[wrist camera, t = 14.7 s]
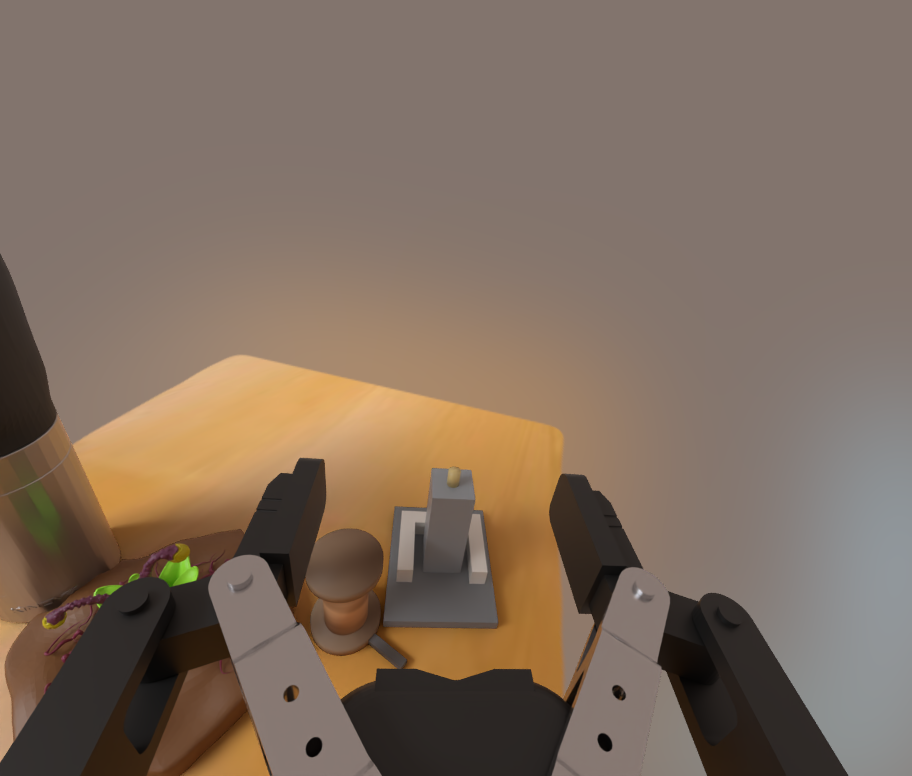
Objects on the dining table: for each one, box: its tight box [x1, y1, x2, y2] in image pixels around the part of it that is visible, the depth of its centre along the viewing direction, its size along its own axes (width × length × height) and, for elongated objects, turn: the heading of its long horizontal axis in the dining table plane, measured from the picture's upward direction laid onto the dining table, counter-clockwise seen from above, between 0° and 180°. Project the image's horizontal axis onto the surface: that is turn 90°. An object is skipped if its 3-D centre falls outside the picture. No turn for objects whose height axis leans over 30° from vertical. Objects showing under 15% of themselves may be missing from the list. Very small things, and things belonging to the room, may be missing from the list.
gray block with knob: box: [423, 467, 475, 573], centre depth 42 cm, size 4×4×13 cm
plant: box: [5, 529, 293, 776], centre depth 33 cm, size 20×20×11 cm
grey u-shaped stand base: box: [383, 507, 498, 628], centre depth 44 cm, size 14×11×3 cm
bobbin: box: [305, 529, 407, 669], centre depth 35 cm, size 10×6×9 cm, turn 33°
